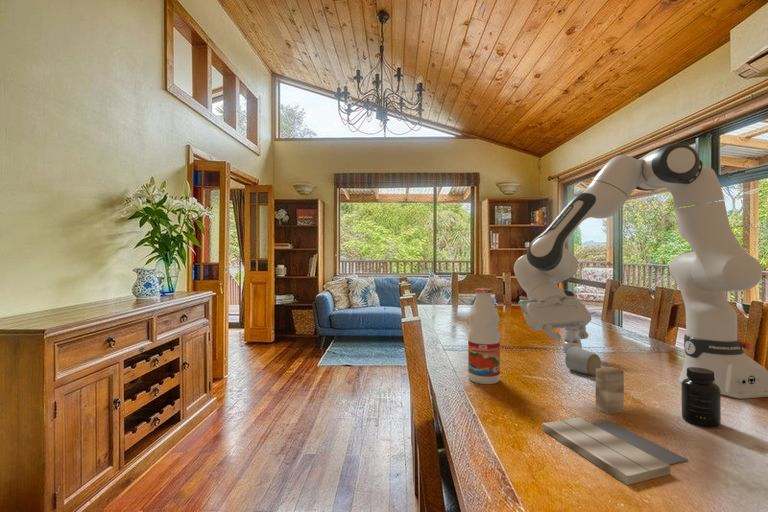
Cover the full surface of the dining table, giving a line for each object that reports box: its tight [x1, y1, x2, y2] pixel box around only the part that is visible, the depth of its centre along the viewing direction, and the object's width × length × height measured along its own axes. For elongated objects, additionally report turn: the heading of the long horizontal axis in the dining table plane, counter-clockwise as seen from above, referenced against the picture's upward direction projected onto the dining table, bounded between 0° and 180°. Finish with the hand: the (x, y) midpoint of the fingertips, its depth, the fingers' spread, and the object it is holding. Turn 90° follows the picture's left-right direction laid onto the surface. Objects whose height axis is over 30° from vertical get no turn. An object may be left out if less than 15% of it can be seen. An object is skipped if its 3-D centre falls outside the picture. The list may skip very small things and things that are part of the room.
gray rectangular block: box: [595, 366, 625, 415], centre depth 91 cm, size 4×5×10 cm
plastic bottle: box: [562, 327, 583, 354], centre depth 140 cm, size 6×7×20 cm
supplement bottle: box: [680, 367, 722, 429], centre depth 84 cm, size 7×7×12 cm
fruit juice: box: [467, 287, 501, 385], centre depth 113 cm, size 9×9×28 cm
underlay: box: [590, 419, 689, 466], centre depth 76 cm, size 17×7×1 cm, turn 17°
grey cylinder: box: [564, 347, 602, 376], centre depth 119 cm, size 11×8×8 cm
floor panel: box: [542, 416, 671, 486], centre depth 73 cm, size 20×10×2 cm, turn 17°
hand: (572, 339), depth 102 cm, fingers open, 8 cm apart
